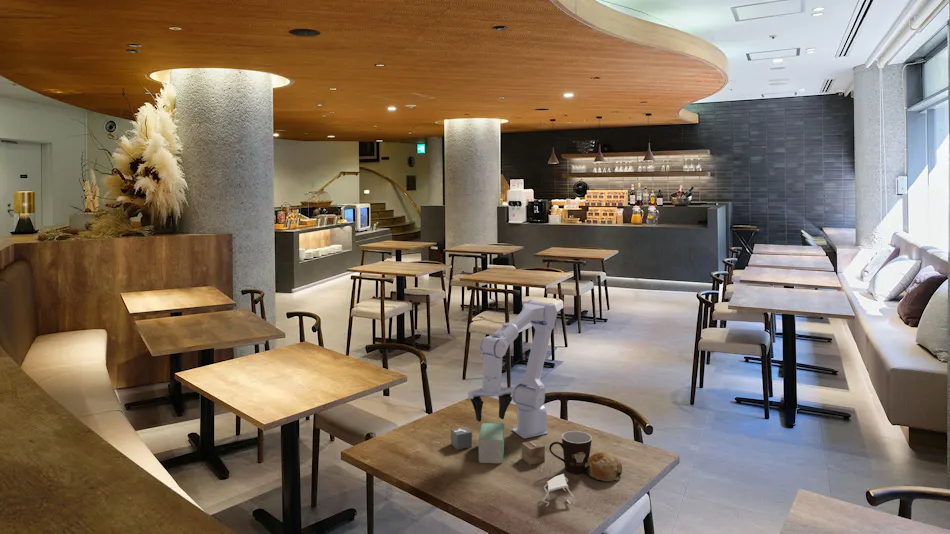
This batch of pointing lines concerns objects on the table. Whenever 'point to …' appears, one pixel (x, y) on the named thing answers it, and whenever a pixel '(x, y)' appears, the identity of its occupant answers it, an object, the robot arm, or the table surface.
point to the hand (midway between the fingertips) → (490, 419)
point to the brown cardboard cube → (533, 452)
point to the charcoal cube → (461, 438)
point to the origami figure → (557, 486)
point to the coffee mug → (575, 451)
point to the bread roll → (604, 466)
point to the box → (491, 443)
